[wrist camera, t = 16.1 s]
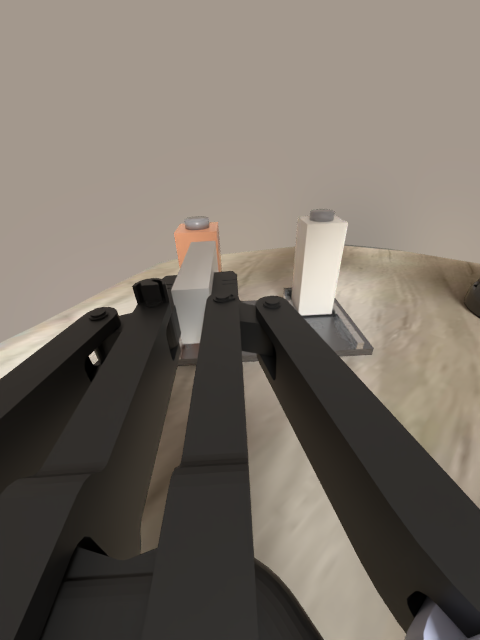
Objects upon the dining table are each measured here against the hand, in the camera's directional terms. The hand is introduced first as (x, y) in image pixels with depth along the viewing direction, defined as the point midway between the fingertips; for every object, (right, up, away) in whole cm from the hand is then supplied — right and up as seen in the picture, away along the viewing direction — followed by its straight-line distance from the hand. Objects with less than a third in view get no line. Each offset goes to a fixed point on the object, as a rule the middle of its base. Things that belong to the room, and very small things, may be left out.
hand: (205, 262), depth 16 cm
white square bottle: (+13, -1, +24) cm, 28 cm away
